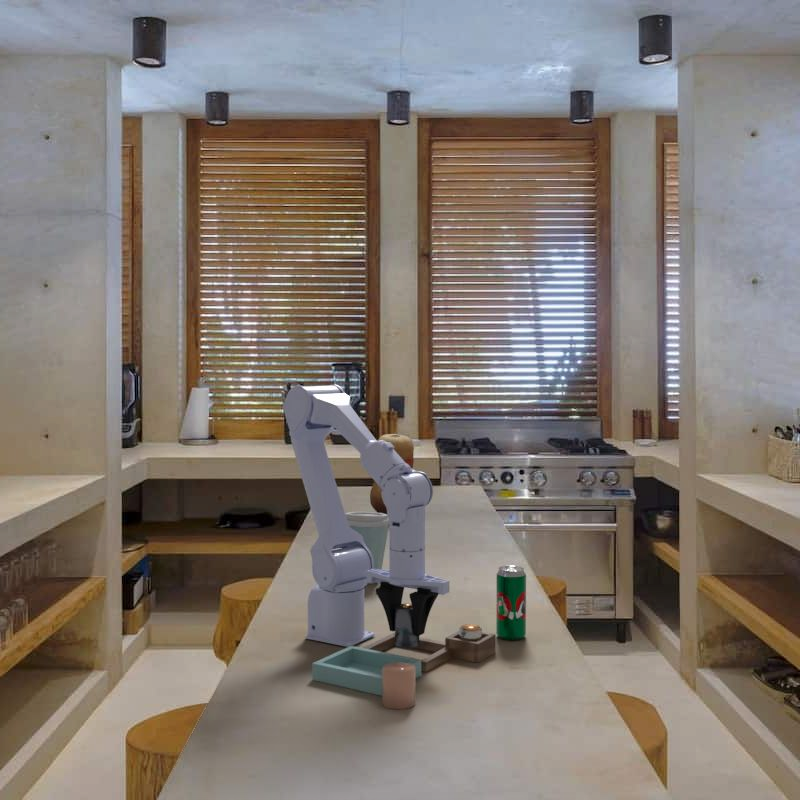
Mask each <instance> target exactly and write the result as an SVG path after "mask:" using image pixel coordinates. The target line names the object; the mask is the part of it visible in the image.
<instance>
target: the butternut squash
mask: <svg viewBox="0 0 800 800" xmlns="http://www.w3.org/2000/svg"><path fill="white" fill-rule="evenodd" d="M379 440H384V441H386V442H388V443H389V442H390V443H391V444H392V445H393V446H394V450H395V451H396V453H397V454H398V455H399V456H400V457H401V458H402V459H403V460H404V462H405V463H406V464H408V465H409V466H410V467H411V469H414V468H413V467H414V463H415V462H414V453H415V452H414V450H415V447H414V442H413V439H411V438H410V437H409V436H406V435H403V434H402V435H401V434H397V433H392V434H391V433H388V434H387V433H386V434H383V435H381V436H380V437H379V438H378V439H377V441H379ZM382 491H383V490H382V489H381V488H380V487H379V485H378V484H377V483H376V482H375V481H374V480H373V483H372V485H371V489H370V493H369V499H370V501H369V502H370V505H371V507H372V508H373V510H374V511H375V512H376V513H383V514H387V508H386V506H385V504H384V502H383V499H382V494H381V492H382Z"/></svg>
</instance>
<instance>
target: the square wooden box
mask: <svg viewBox="0 0 800 800" xmlns="http://www.w3.org/2000/svg"><path fill="white" fill-rule="evenodd" d="M496 635H497V634H494V633H490V632H484V631H482V639H481V640H479V641H477V642H474V641H469V640H463V639H459V630H458V631H456V632H454V633H452V634H451V635H448V636H446V637H445V640H444V642H445V647H447V648H452V658H451V659H456V660H457V659H458V660H462V661H463V660H464V661H468V662H471V663H472V662H473V663H477V664H478V663H480V662H482V661H484V660H486V659H487V658H489V657H490V656H493V655H494V654H495V653H496Z"/></svg>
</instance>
